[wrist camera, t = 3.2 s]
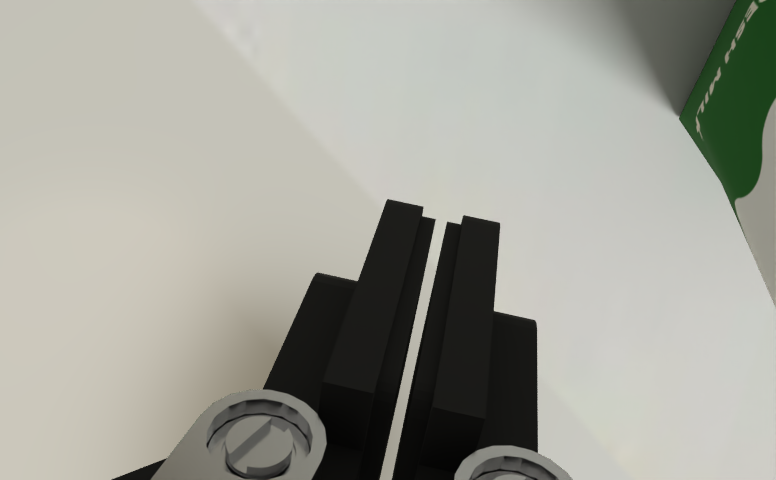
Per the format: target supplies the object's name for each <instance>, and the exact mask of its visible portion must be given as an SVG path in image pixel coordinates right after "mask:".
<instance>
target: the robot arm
mask: <svg viewBox="0 0 776 480" xmlns="http://www.w3.org/2000/svg"><path fill="white" fill-rule="evenodd" d="M422 213H423V207H422V206H417V205H413V204H408V203H403V202H399V201H394V200H389V199H387V201H386V204H385V207H384V210H383V212H382V215H381V218H380V221H379V224H378V226H377V229H376V232H375V235H374V238H373V240H372V243H371V246H370V249H369V252H368V254H367V257H366V260H365V263H364V266H363V269H362V271H361V274H360V277H359V280H358V281H354V280H349V279H345V278H340V277H336V276H331V275H326V274H322V273H316V274H315V276H314V277H313V279H312V281H311V283H310V286H309V288H308V290H307V292H306V295H305V297H304V299H303V301H302V303H301V306H300V308H299V310H298V313H297V314H296V317H295V319H294V321H293V324H292V326H291V328H290V330H289V332H288V335H287V337H286V339H285V341H284V343H283V346H282V348H281V350H280V352H279V355H278V357H277V359H276V361H275V363H274V366H273V368H272V370H271V372H270V374H269V377H268V379H267V381H266V383H265V385H264V388H263V390H246V391H242V392H238V393H233V394H230V395H228V396H226V397H224V398H222V399H220V400H218V401H216V402H214V403H213V404H212V405H211V406H210V407H208V409H206V410H205V411H204V412H203V413H202V414H201V415H200V416H199V418H198V419H197V420H196V421H195V423H194V424H193V425H192V427H191V428H190V429H189V430H188V432H187V433H186V434H185V436H184V437H183V439H182V440H181V441H180V442H179V444H178V445H177V446H176V447H175V449H174V450H173V451H172V453H171V454H170V455H169V457H168V458H166V459H164V460H161V461H159V462H156V463H153V464H151V465H148V466H146V467H143V468H141V469H138V470H135V471H133V472H130V473H128V474H125V475H123V476H120V477H117V478H115V479H112V480H379V479H380V475H381V470H382V466H383V461H384V457H385V452H386V448H387V443H388V439H389V434H390V430H391V425H392V420H393V416H394V412H395V407H396V403H397V398H398V394H399V389H400V385H401V380H402V376H403V372H404V367H405V362H406V357H407V353H408V348H409V343H410V338H411V334H412V329H413V324H414V320H415V314H416V310H417V305H418V301H419V296H420V291H421V286H422V282H423V277H424V271H425V267H426V263H427V258H428V253H429V248H430V244H431V239H432V234H433V229H434V225H435V220H436V219H432V218H427V217H423V216H422ZM499 233H500V223H498V222H493V221H488V220H484V219H479V218H474V217H469V216H465V215H464V216H463V219H462V223H461V225H460V224H455V223H451V222H447V225H446V229H445V234H444V238H443V243H442V247H441V252H440V256H439V261H438V266H437V270H436V275H435V279H434V284H433V288H432V293H431V297H430V302H429V306H428V311H427V315H426V320H425V324H424V329H423V333H422V338H421V342H420V347H419V352H418V356H417V361H416V365H415V370H414V375H413V379H412V384H411V389H410V394H409V399H408V404H407V409H406V413H405V418H404V423H403V428H402V433H401V438H400V443H399V448H398V453H397V457H396V462H395V467H394V472H393V478H392V480H573V479H572V478H571V477H570V476H569V474H568V473H567V472H566V471H565V470H563V469H562V468H561V467H559V466H558V465H557V464H556V463H554V462H553V461H552V460H551V459H549V458H547V457H544V456H542V455H540V454H538V421H537V325H536V322H535V320H532V319H527V318H522V317H518V316H513V315H509V314H504V313H500V312H495V311H494V298H495V285H496V272H497V259H498V246H499Z"/></svg>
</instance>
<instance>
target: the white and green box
mask: <svg viewBox="0 0 776 480" xmlns="http://www.w3.org/2000/svg"><path fill="white" fill-rule="evenodd" d="M679 120H680V121H681V123H682V124H683V126H684V127H685V129H686V130H687V132H688V133H689V135H690V136H691V138H692V139H693V141H694V142H695V144H696V145H697V147H698V148H699V150H700V151H701V153H702V154H703V156H704V157H705V159H706V160H707V162H708V163H709V165H710V166H711V168H712V169H713V171H714V172H715V174H716V175H717V177H718V178H719V180H720V181H721V183H722V185H723V188H724V190H725V192H726V195H727V197H728V199H729V201H730V204H731V206H732V208H733V210H734V213H735V215H736V217H737V220H738V222H739V224H740V226H741V229H742V231H743V233H744V236H745V238H746V240H747V243H748V245H749V247H750V249H751V252H752V254H753V256H754V259H755V261H756V263H757V266H758V268H759V270H760V273H761V275H762V277H763V279H764V282H765V284H766V286H767V289H768V291H769V293H770V296H771V298H772V300H773V303H774V305H775V307H776V0H736V2H735V4H734V6H733V8H732V10H731V12H730V15H729V17H728V19H727V21H726V23H725V25H724V27H723V29H722V31H721V33H720V35H719V37H718V39H717V41H716V43H715V45H714V47H713V49H712V52H711V54H710V56H709V58H708V60H707V62H706V64H705V66H704V68H703V70H702V72H701V74H700V76H699V78H698V80H697V82H696V84H695V87H694V89H693V91H692V93H691V95H690V97H689V99H688V101H687V103H686V105H685V107H684V109H683V111H682V113H681V115H680V118H679Z"/></svg>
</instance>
